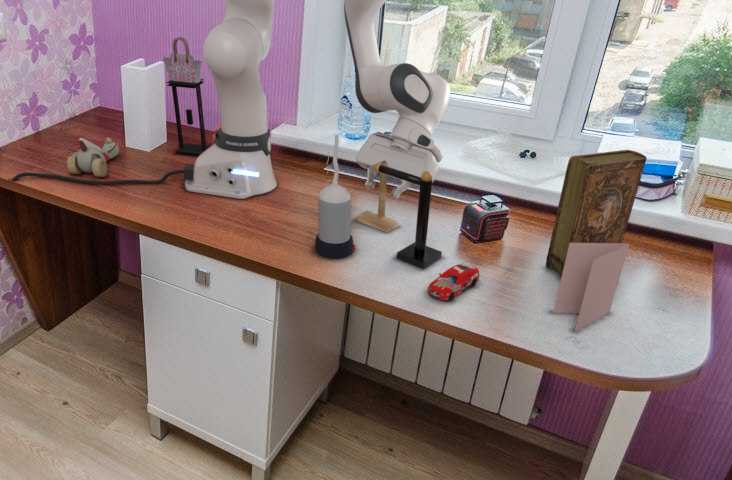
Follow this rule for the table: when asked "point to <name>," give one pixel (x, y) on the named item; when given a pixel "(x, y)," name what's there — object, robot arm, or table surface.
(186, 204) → the table surface
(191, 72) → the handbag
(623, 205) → the book
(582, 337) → the table surface
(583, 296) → the greeting card
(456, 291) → the race car
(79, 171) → the toy dog
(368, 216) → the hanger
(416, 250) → the stand
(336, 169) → the humidifier
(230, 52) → the robot arm
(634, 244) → the table surface
